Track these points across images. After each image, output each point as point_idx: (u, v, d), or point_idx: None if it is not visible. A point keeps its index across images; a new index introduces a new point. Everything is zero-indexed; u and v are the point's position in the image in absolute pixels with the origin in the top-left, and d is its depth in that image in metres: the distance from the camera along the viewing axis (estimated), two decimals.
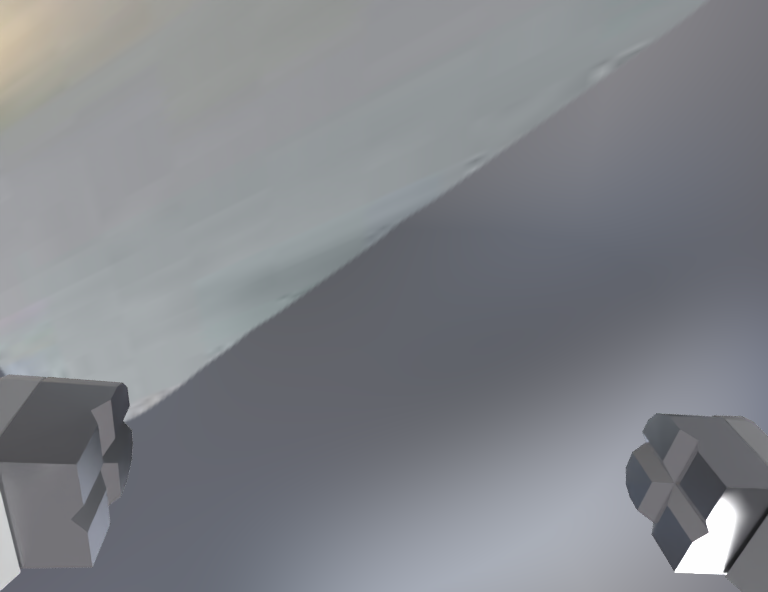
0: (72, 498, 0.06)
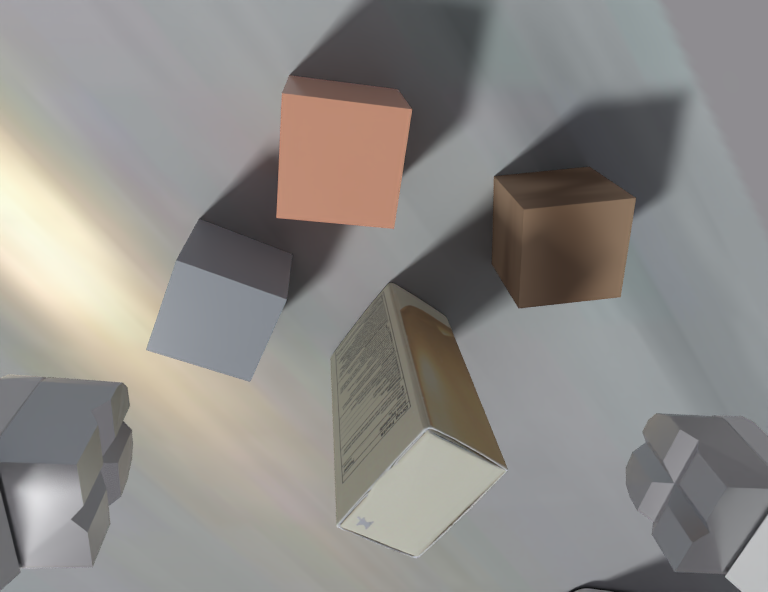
0: (72, 498, 0.06)
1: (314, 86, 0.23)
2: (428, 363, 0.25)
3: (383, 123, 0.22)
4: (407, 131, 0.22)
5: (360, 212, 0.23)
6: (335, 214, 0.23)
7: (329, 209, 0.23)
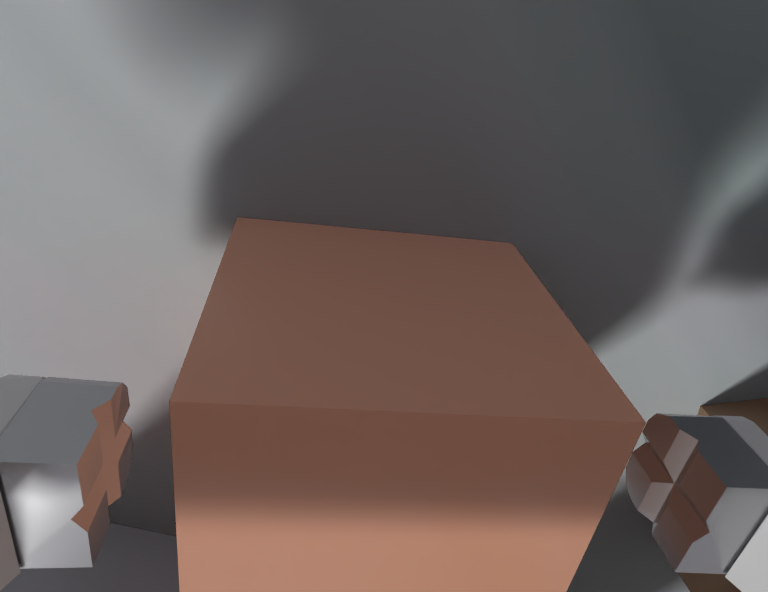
0: (73, 497, 0.06)
1: (301, 284, 0.08)
2: None
3: (538, 464, 0.06)
4: (614, 477, 0.06)
5: None
6: None
7: None
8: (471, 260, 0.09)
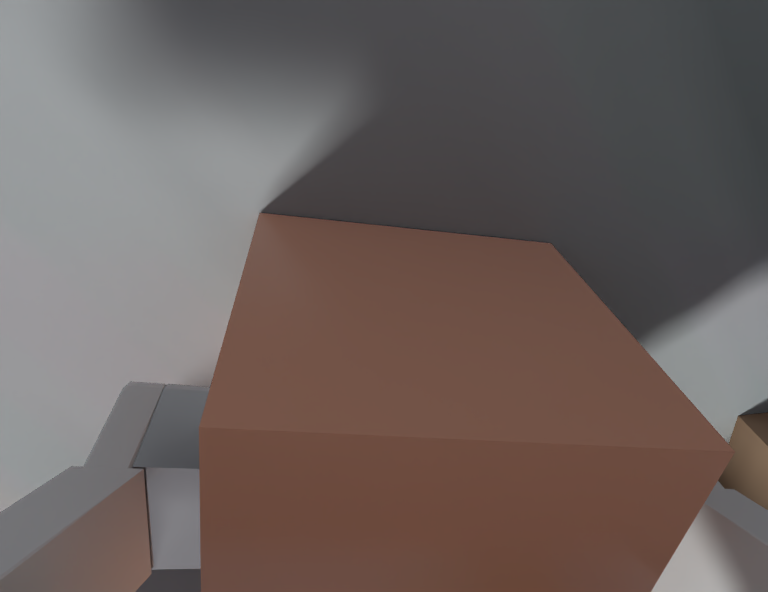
0: None
1: (335, 289, 0.07)
2: None
3: (611, 497, 0.06)
4: (693, 511, 0.06)
5: None
6: None
7: None
8: (513, 263, 0.09)
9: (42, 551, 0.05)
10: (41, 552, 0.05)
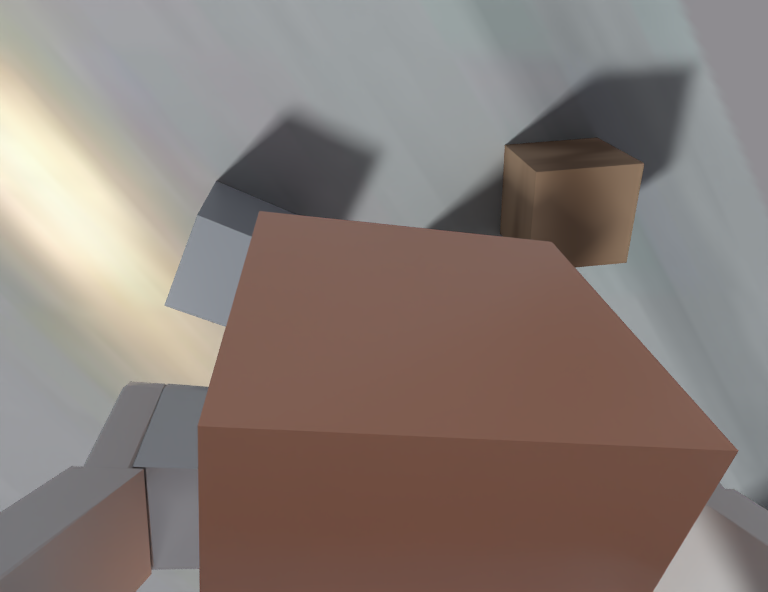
0: None
1: (334, 288, 0.07)
2: None
3: (613, 496, 0.05)
4: (695, 511, 0.06)
5: None
6: None
7: None
8: (513, 262, 0.09)
9: (42, 551, 0.05)
10: (41, 552, 0.05)
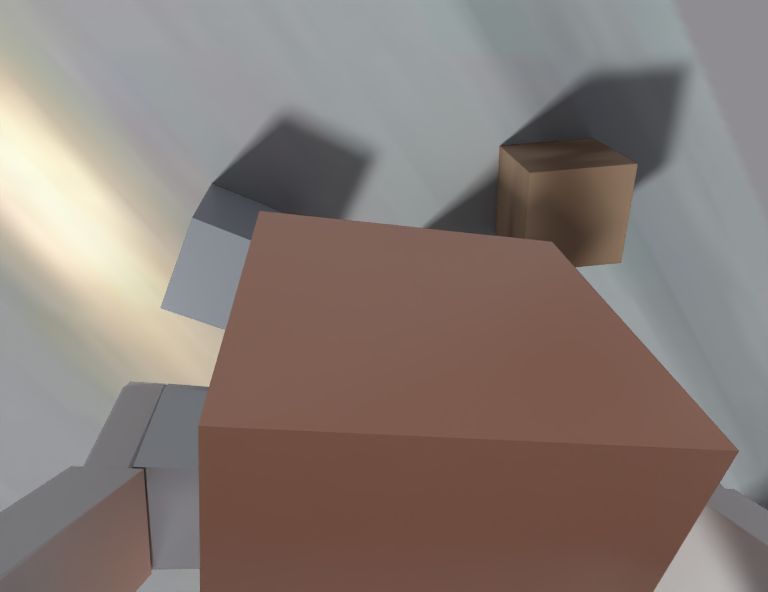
0: None
1: (335, 288, 0.07)
2: None
3: (614, 496, 0.05)
4: (696, 511, 0.06)
5: None
6: None
7: None
8: (514, 262, 0.09)
9: (42, 550, 0.05)
10: (41, 552, 0.05)
